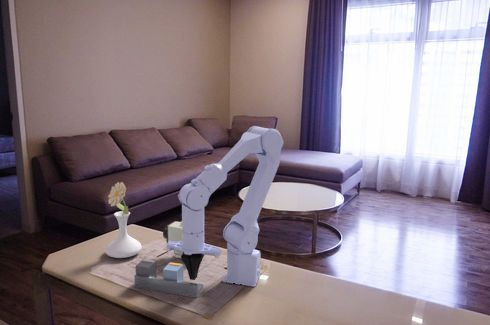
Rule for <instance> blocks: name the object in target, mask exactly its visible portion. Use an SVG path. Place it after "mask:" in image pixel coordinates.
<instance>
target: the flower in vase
mask: <svg viewBox="0 0 490 325" xmlns="http://www.w3.org/2000/svg"><path fill="white" fill-rule="evenodd" d="M126 191H127V187H126V185H125V184H124V182H123V181H121V182H119V181H118V182H116V183H115V184H114V185H113V186H111V190H110V192H109V194H108V196H107V197H108V200H107V201H108V202H107V203H108V204H109V205H110V207H115V206H116V208H118V209H119V210H121V211H116V212H114V213H113V215H114V216H113V217H115V218H116V220H117V223H118V228H119V230H118V232H119V233H118V236H117V237H116V238H115V239H113V240H112V241H111V242H110V243H109V244H108V245H107V246H106V248H105V251H104V252H105V254H106V255H107V256H108V257H109V258H110V257H111V258H115V259H123V258H129V257H133V256H135V255H137V254H139V253H140V252H141V250H142V248H143V246H142V244H141V242H140V241H139V240H138V239H135V238H133V237H132V236H130V235H129V234H128V230H127V224H128V219H129V216H130V214H131V212H130V211H129V206H128V205H126V202H125V200H124V198H125V196H126ZM121 202H123V204H121Z"/></svg>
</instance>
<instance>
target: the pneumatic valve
mask: <svg viewBox="0 0 490 325" xmlns="http://www.w3.org/2000/svg"><path fill="white" fill-rule="evenodd" d="M162 236H163V238H164V239H166V240H165V241H166V244H167V243H168V242H169V241H173V242H180V241H182V221H177V220H176V221H174V220H173V221H172V222H170V223H168V224H166V225H165V227H164V228H163V231H162ZM173 254H174V255H175V256H174V257H175V258H176V259H179V258H181V256H182V254H183V252H181V251H174V250H173Z"/></svg>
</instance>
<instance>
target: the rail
mask: <svg viewBox="0 0 490 325" xmlns="http://www.w3.org/2000/svg"><path fill="white" fill-rule="evenodd" d="M203 287H204V288H205V286H204V284H203V283H197V282H190V281H189V282H188V281H185V280H183V282H182V281H176V280H169V279H163V277H157V260H152V259H146V258H145V259H142V260H141V261H140V262H138V263H137V264H136V265H135V274H134V288H135V289H141V290H148V291H154V292H160V293H165V294H172V295H176V296H177V295H178V296H183V297H184V296H185V297H191V298H198V297H199V296H200V294H201V292H202V291H203V290H202V289H204V288H203ZM201 290H202V291H201Z"/></svg>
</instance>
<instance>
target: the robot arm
mask: <svg viewBox="0 0 490 325" xmlns="http://www.w3.org/2000/svg"><path fill="white" fill-rule="evenodd" d="M283 146H284V139H283V137H282V135H281V133H280V131H279V130H278V129H276V128H266V127H262V126H258V125H253V126H251V127H249V128H248V129H247V131H245V132H243V134H242V135H241V138H240V139H239V140H238V142H236V144H234V146H233V147H232V148H231V149H230V150H229V151H228V152H227V153H226V154H225V155H224V156H223V157H222V158H221V160H220V161H218V162H217V163H211V164H209V165H208V164H207V165H206V166H204V170H203V171H202V172H201V173H199V175H198V176H197V177H195V178H193V179H192V180H191V181H190V183H187V184H185V185H183V186H182V187H181V189H180V190H179V194H177V198H178V200H179V202H180V203H181V222H182V241H180V242H173V241H169V242H168V243H167V242H166V244H165V245H166V252H171V251H173V252H174V251H181V252H183V254H182V256H181V261H182V264H183V265H184V266H185V268H186V270H187V273H188V278H189V280H191V281H195V280H197V278H198V274H199V270H200V269H199V268H200V267H201V264H202V261H203V258H205V257H204V256H213V257H214V258H217V259H218V258H220V256H221V255H222V254H221V252H222V250H221V248H222V247H218V246H215V245H211V244H207V243H205V207H207V205H208V203H209V199H210V197H211V195H212V194H213V193H214V192H215V191H216V190H217V189H218V188H219V187H220V186H221V185H222V184H223V183H224V182H226V181H227V177H228V172H229V171H231V170H232V169H233V168H234V167H235V166H237V164H239V163H240V162H241V161H243V160H244V159H245V158H246V157H247V156H248V155H250V154H251V155H252V154H255V155H256V158H257V159H258V165H257V167H256V169H255V173H254V175H253V177H252V179H251V183H250V184H249V187H248V190H247V191H246V194H245V197H244V199H243V202H242V203H241V204H242V205H241V206H240V209H239V211H238V212H237V213H236V214H233V216H232V217H231V218H230V221H229V222H228V224H226V225H225V227H224V228H223V233H222V236H223V239H224V240H225V241H226V243H227V244H226V246H227V247H226V249H227V252H226V254H227V255H226V264H227V265H226V273H225V276H224V277H223V278H222V282H223V283H226V282H227V284H233V283H235V284H234V285H240V284H242V285H241V286H247V287H253V288H254V287H256V285H257V283H258V280H259V278H260V276H261V257H262V255H261V250H258V249H256V247H257V245H258V240H259V239H258V238H259V236H258V235H259V233H260V227H259V226H260V225H259V224H258V218H259V217H260V214H261V211H262V208H263V207H264V206H263V205H264V204H265V201H266V198H267V196H268V193H269V191H270V188H271V187H272V184H273V181H274V179H275V176H276V174H277V171H278V168H279V166H280V163H281V151H282V148H283Z"/></svg>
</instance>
